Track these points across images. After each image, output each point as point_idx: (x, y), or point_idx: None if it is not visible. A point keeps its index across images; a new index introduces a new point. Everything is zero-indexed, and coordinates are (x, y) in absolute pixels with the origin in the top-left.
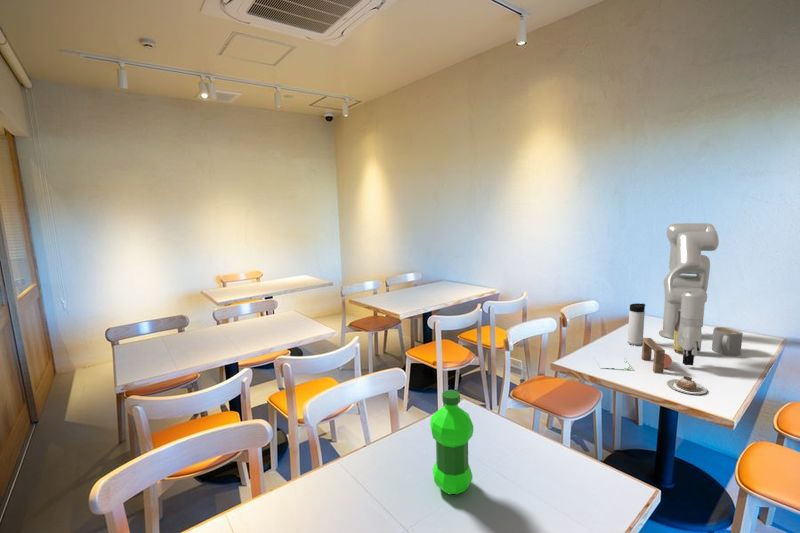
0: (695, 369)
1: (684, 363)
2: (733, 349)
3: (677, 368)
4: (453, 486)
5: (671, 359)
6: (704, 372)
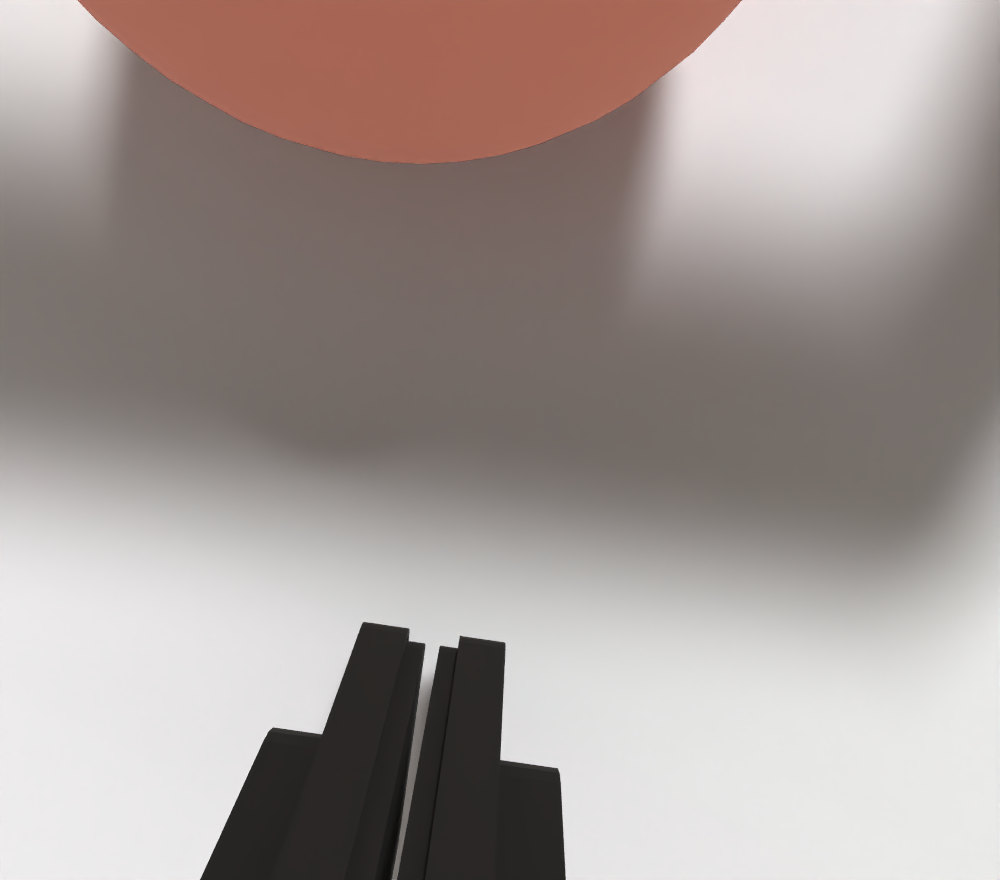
0: None
1: (360, 645)
2: None
3: (378, 356)
4: None
5: (117, 22)
6: (156, 876)
